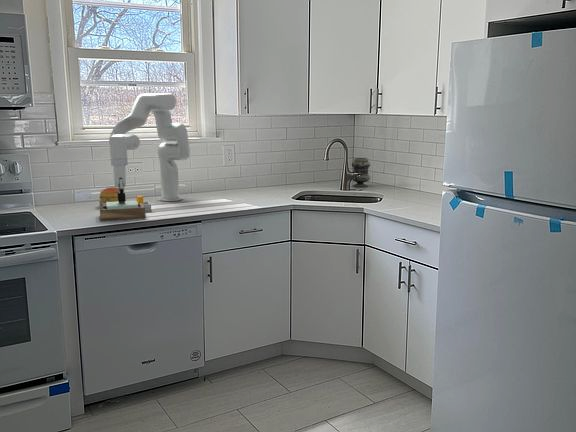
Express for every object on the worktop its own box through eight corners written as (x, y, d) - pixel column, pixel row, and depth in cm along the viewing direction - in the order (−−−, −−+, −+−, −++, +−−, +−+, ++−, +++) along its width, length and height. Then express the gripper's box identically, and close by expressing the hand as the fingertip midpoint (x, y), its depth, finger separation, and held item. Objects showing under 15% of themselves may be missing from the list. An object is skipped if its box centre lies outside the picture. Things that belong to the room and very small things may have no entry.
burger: (130, 204, 302) (129, 185, 300) (121, 209, 288) (119, 189, 286) (105, 204, 302) (104, 185, 300) (95, 208, 289) (94, 189, 287)
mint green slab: (106, 205, 271) (105, 191, 270) (136, 203, 276) (135, 190, 274) (106, 209, 260) (105, 195, 259) (138, 207, 264) (137, 194, 263)
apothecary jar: (365, 188, 353) (366, 159, 350) (347, 186, 359) (348, 158, 356) (372, 185, 363) (373, 157, 360) (355, 184, 369) (356, 156, 366)
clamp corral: (115, 210, 285) (115, 203, 284) (149, 208, 290) (149, 201, 289) (116, 213, 277) (116, 206, 276) (151, 211, 282) (150, 204, 282)
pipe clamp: (125, 213, 278) (124, 200, 276) (120, 211, 280) (119, 199, 279) (145, 209, 287) (145, 196, 285) (140, 208, 289) (139, 195, 288)
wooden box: (100, 216, 271) (99, 199, 269) (143, 213, 277) (142, 197, 276) (100, 220, 260) (99, 203, 258) (145, 217, 266) (144, 201, 265)
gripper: (110, 160, 270) (112, 198, 274) (111, 164, 255) (114, 204, 258) (126, 160, 272) (128, 197, 276) (128, 163, 257) (131, 203, 261)
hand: (121, 200), depth 267 cm, fingers open, 3 cm apart
